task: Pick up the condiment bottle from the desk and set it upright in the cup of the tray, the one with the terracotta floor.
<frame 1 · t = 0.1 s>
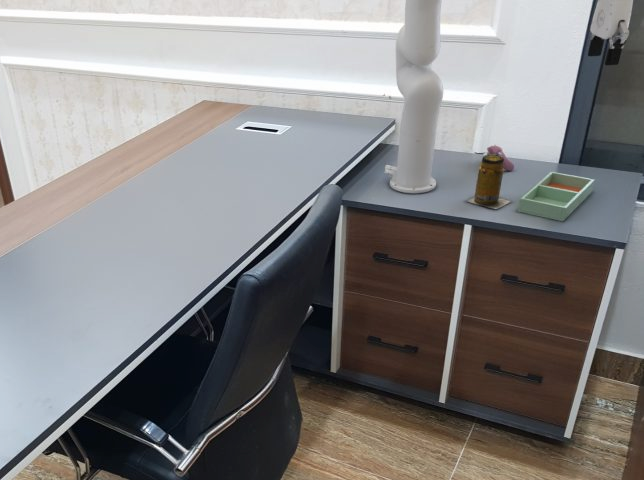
hand: (602, 60, 184), 31 cm above the table, tool pointing down, fingers open, 9 cm apart
condiment: (488, 202, 191), on the table
tray: (555, 201, 188), on the table
pink animal figurine: (498, 166, 211), on the table
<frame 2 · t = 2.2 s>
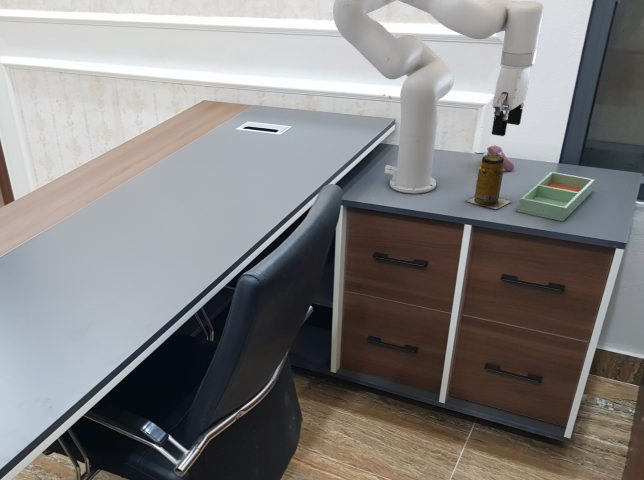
hand: (505, 129, 181), 19 cm above the table, tool pointing down, fingers open, 9 cm apart
nothing on the table moved.
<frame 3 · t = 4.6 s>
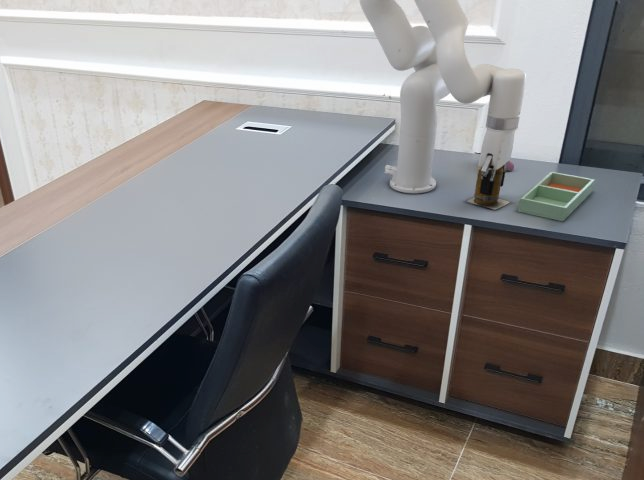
hand: (491, 189, 189), 4 cm above the table, tool pointing down, fingers closed on condiment, 6 cm apart
condiment: (488, 203, 191), on the table, touching gripper
everything else where it was.
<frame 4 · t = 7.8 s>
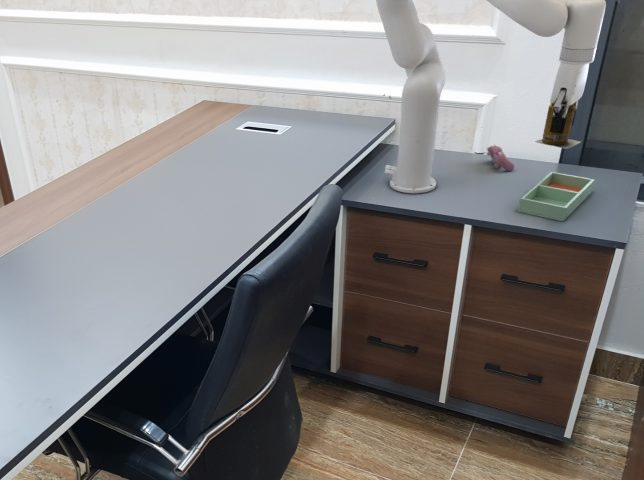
hand: (561, 128, 181), 18 cm above the table, tool pointing down, fingers closed on condiment, 6 cm apart
condiment: (557, 143, 183), point 15 cm above the table, touching gripper
everything else where it was.
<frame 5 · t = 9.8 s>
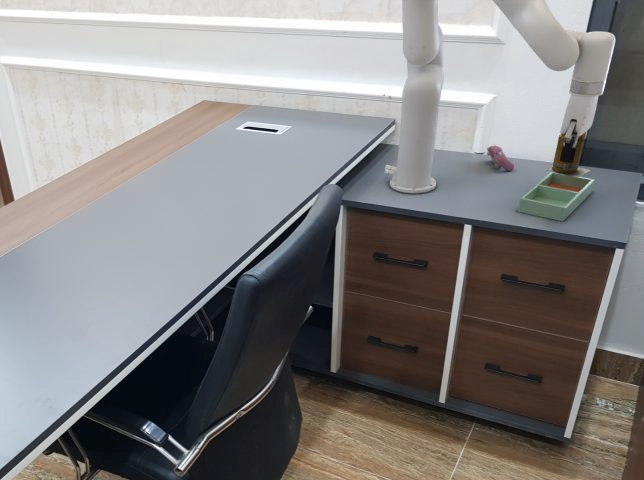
hand: (571, 157, 186), 10 cm above the table, tool pointing down, fingers closed on condiment, 6 cm apart
condiment: (567, 171, 188), point 7 cm above the table, touching gripper
everything else where it was.
when the fingers open (5 cm above the table, at t = 11.3 s): condiment stays where it is, resting on tray.
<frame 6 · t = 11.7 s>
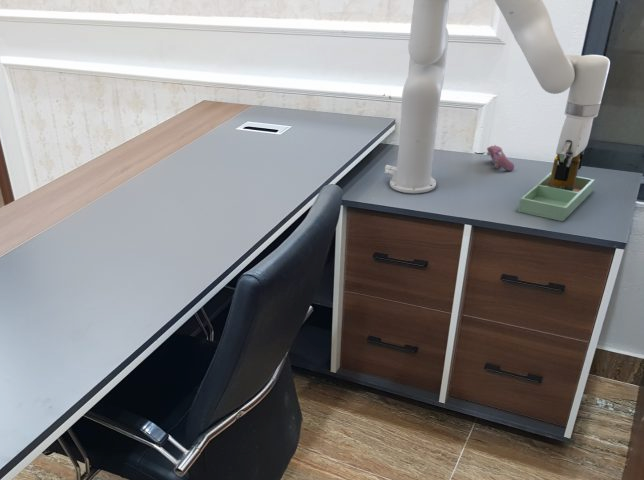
hand: (567, 174, 188), 6 cm above the table, tool pointing down, fingers open, 9 cm apart
condiment: (562, 193, 191), point 1 cm above the table, touching tray
everything else where it was.
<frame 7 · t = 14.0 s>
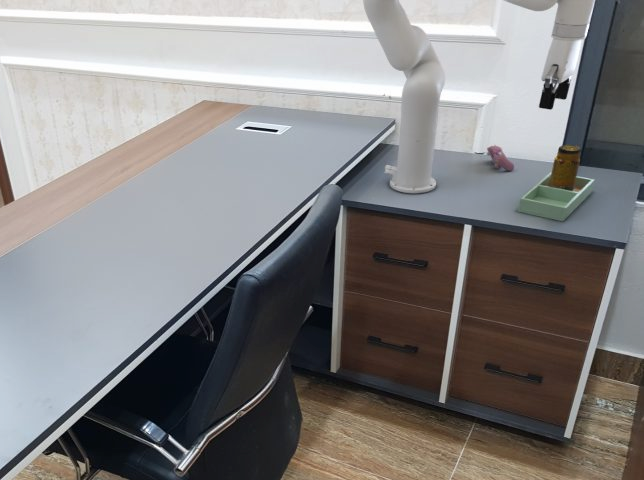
hand: (552, 103, 179), 24 cm above the table, tool pointing down, fingers open, 9 cm apart
nothing on the table moved.
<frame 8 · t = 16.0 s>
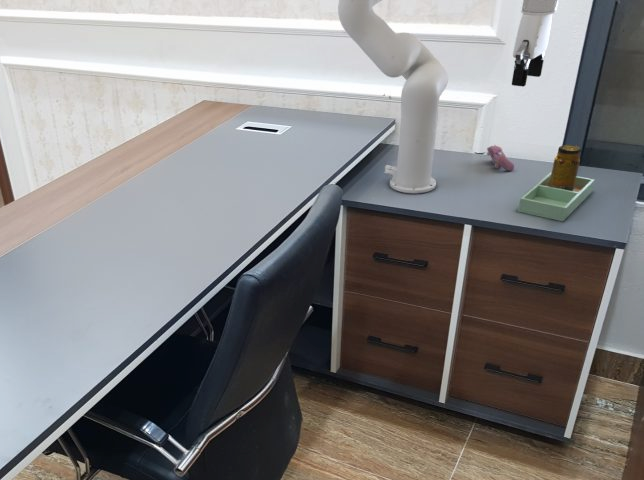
hand: (526, 80, 177), 30 cm above the table, tool pointing down, fingers open, 9 cm apart
nothing on the table moved.
at the end: condiment 0.3 cm from the target spot in the tray, point 0.6 cm above the tray's base; condiment tilted 0°; the gripper is holding nothing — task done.
